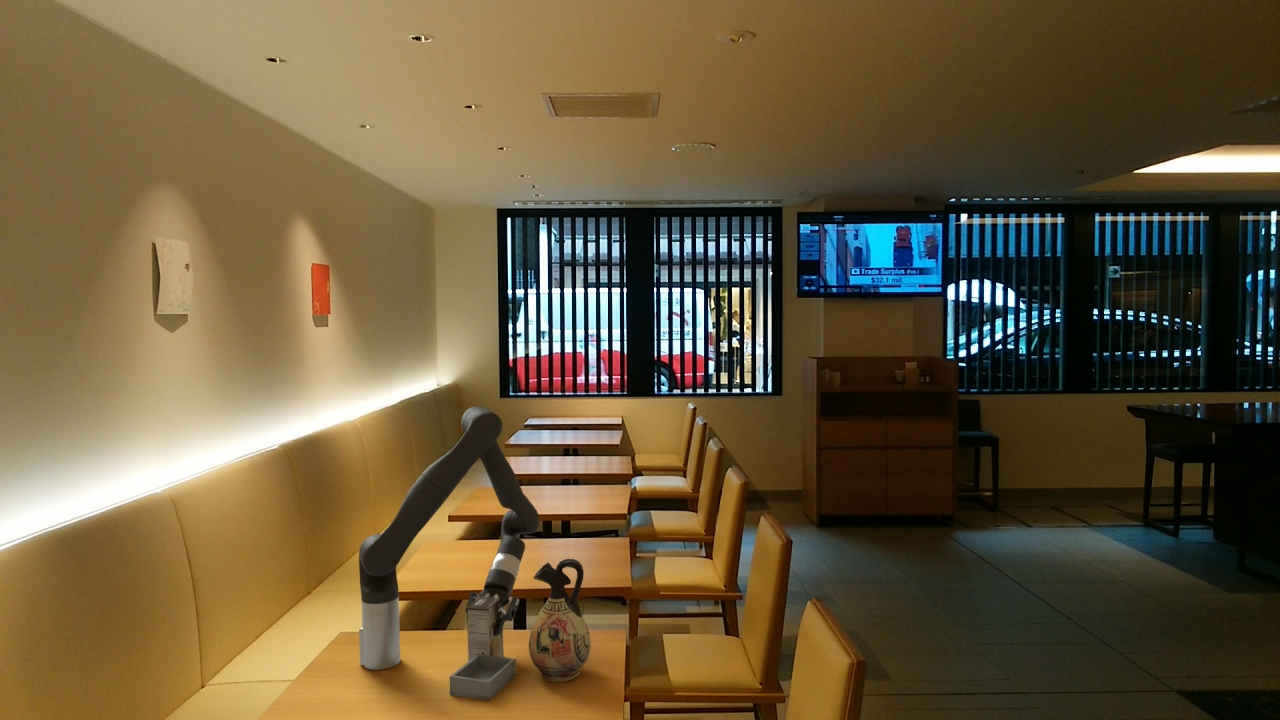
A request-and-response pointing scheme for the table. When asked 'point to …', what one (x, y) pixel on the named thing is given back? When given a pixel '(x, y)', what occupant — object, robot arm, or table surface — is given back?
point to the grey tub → (482, 677)
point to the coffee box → (483, 628)
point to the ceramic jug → (560, 627)
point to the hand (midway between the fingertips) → (482, 633)
